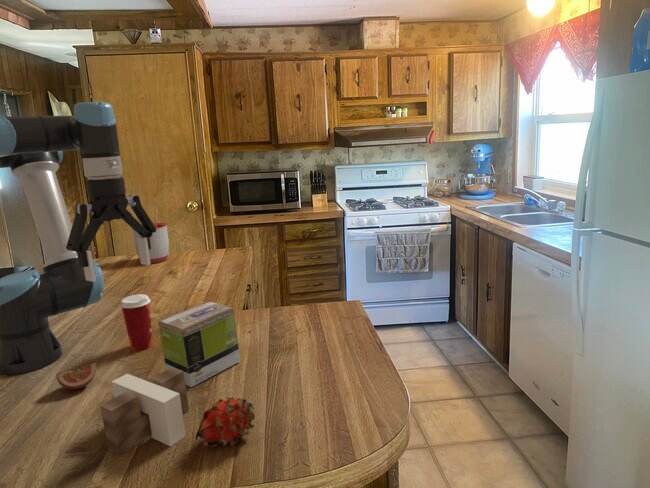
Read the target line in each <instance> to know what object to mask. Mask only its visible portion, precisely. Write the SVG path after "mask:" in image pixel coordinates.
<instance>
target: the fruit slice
mask: <svg viewBox="0 0 650 488" xmlns="http://www.w3.org/2000/svg"><path fill="white" fill-rule="evenodd" d="M97 369H98V367H97V362H93V363H89V364H86V365H82V366H81V367H80V368H78V369H77V368H72V369H68V370H64V371H61V372H60V371H59V372H57V373H56V380H57V382H58V383H59V385H60V386H61V387H62V388H65V389H68V390H78V389H82V388H84V387H86V386H88V385H89V384H90V383H91V382H92V381H93V379H94V378H95V376H96V374H97V373H96V372H97Z"/></svg>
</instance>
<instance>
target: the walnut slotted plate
mask: <svg viewBox="0 0 650 488" xmlns="http://www.w3.org/2000/svg"><path fill="white" fill-rule="evenodd" d="M150 382H151V383H153V384H156V385H159V386H161V387H164V388H166V389H169V390H172V391H174V392H177V393H179V394H180V400H181V407H182V414H183V415H184V414H185V413H188V412H189V410H190V408H189V402H188V394H187V388H186V386H187V385H185V378H184V371H182V370H179V369H176V368H173V367H172V368H170V369H168V370H164V371H163V372H160V373H158V374H157V375H155V376H153V377H151V378H150ZM99 407H100V411H101V416H102V417H101V418H102V424H103V429H104V433H105V438H106V446H107V450H109V451H111V452H113V453H115V454H116V455H118V456H121V455H122V454H124V453H125V452H127V451H128V450H130V449H131V448H132V447H134V446H136V445H138V444H139V443H141V442H142V441H144V440H145V439H147V438H149V437H150V436H152V432H151V425H150V419H149V414H147V413H144V412H142V411H140V409H139V403H138V397H137V396H135V395H133V394H130V393H128V392H125V393H123V394H121V395H119V396H117V397H113V398H112V399H109V400H108V401H106V402H105V403H103V404H100V406H99Z"/></svg>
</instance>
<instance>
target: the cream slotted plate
mask: <svg viewBox="0 0 650 488" xmlns="http://www.w3.org/2000/svg"><path fill="white" fill-rule="evenodd" d="M111 386H112V390H113V398H115V397H117V396H119V395H121V394H123V393H125V392H128V393H130V394H133V395H135V396H137V397H138V403H139V409H140V411H142V412H144V413H147V414H149V419H150V425H151V432H152V435H151V437H152V439H153V440H156V441H159V442H161V443H162V444H164V445H166V446H169V447H172V446H174V445H175V444H177V443H178V442H179V441H181V440H183V438H185V437H186V430H185V421H184V416H183V415H184V414H182V407H181V400H180V394H179V393H177V392H174V391H172V390H169V389H166V388H164V387H161V386H159V385H156V384H153V383H151V381H147V380H145V379H142V378H140V377H137V376H135V375H132V374H130V373H125V374H124V375H121V376H119V377H118V378H115V379H114V380H112V381H111Z"/></svg>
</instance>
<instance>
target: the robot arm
mask: <svg viewBox="0 0 650 488" xmlns="http://www.w3.org/2000/svg"><path fill="white" fill-rule="evenodd" d="M115 117H116V116H115V112H114V108H113V106H112V104H111V103H109V102H105V101H91V102H90V101H88V102H86V101H85V102H76V103H75V104H74V105H73V115H33V116H32V115H31V116H27V115H26V116H23V115H22V116H21V115H19V116H18V115H17V116H16V115H15V116H14V115H13V116H11V115H9V116H7V115H6V116H5V115H4V116H2V115H0V169H1V168H2V169H4V168H10V170H11V172H12V175H13V176H14V177H15V178H18V179H19V180H21V184H22V186H23V190H24V193H25V196H26V200H27V202H28V206H29V208H30V211H31V212H30V213H31V215H32V218H33V221H34V225H35V227H36V231H37V234H38V237H39V240H40V243H41V247H42V250H43V253H44V256H45V258H46V261H45V263H44V265H43V267H42V271H43V273H40V272H39V271H37V270H33V269H27V270H24V271H18V272H14V273H11V274H7V275H5V276H3V277H1V278H0V374H2V375H19V374H24V373H29V372H33V371H36V370H39V369H42V368H45V367H47V366H49V365H51V364H53V363H55V362H56V361H58V360H59V359H60V358H61V357H62V355H63V350H62V349H63V348H62V345H61V343H60V341H59V340H58V338H57V337H56V335H55V334H54V332H53V331H52V329H51V327H50V322H49V318H50V317H53V316H58V315H60V314H61V315H62V314H65V313H67V312H72V311H74V310H77V309H83V308H86V307H88V306H91V305H94V304H97V303H98V302H99V301H100V300H102V297H103V295H104V288H105V283H104V274H103V271H102V268H101V267H100V265H99V263H97V262H94V261H93V260H94V259H93V253H92V250H88V249H89V247H90V246H91V244H92V241H94V239H95V236H97V233H98V232H99V229H100V227H101V226H102V225H104V223H105V222H111V221H113V220H123V221H124V222H125V223H126V224H127V225H128V226H129V227H130V228H131V229H132V228H133V229H134V230H135V231H136V232H137V233H138V234H139V235H140V236H141V237H137V240H138V247H139V254H140V259H139V260H140V264H141V265H143V266H150V265H151V266H152V264H151V262H150V255H149V250H150V249H151V244H150V237H151V236H152V233H155V232H156V228H155V226H154V224H153V223H152V222H153V221H152V220H151V218H150V216H149V215H148V214H147V211H145V209H144V207H143V206H142V203H141V199H140V196H139V195H128V197H127V196H126V192H127V190H126V181H125V178H124V177H123V176H121V175H123V173H124V172H123V164H122V159H121V157H122V156H121V151H120V150H121V149H120V144H119V143H120V142H119V136H118V129H117V119H116V118H115ZM66 151H67V152H68V151H69V152H70V151H73V152H74V151H75V152H76V151H80V153H81V154H80V156H81V160H82V161H81V162H82V166H83V172H84V177H86V178H88V179H86V181H85V185H86V191H87V195H88V198H89V203H87V204H86V203H76V204H75V206H74V209H75V216H74V219H73V222H72V221H71V219H70V214H69V212H68V208H67V206H66V205H67V204H66V202H65V200H64V199H65V198H64V196H63V192H62V190H61V187H60V184H59V180H58V178H57V177H58V176H57V174H56V173H57V171H58V170H59V168H60V163H62V161H63V157H64V153H63V152H66ZM128 206H129V207H130V208H131V210H132V211H133V213H134V214H135V216H136V218H137V219H138V220H137V219H136V218H135V217H134V216H133V214H132V213H131V212H130V211H129V210H128V209H127V207H128ZM90 211H91V212H92V215H91V216H90V218H89V222H88V223H87V219H88V214H90ZM86 223H87V226H86ZM133 229H132V230H133Z"/></svg>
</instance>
